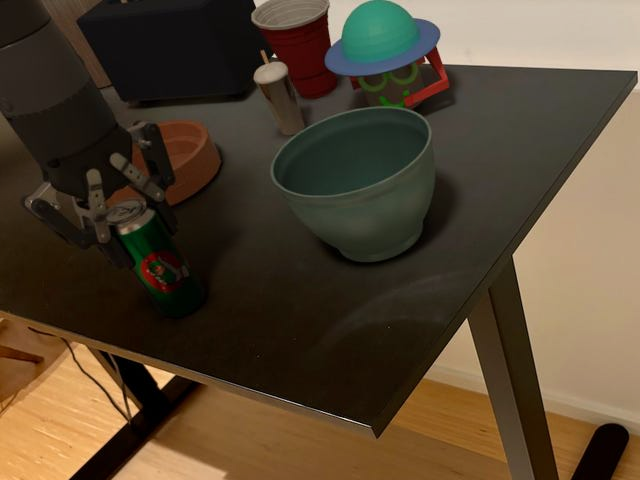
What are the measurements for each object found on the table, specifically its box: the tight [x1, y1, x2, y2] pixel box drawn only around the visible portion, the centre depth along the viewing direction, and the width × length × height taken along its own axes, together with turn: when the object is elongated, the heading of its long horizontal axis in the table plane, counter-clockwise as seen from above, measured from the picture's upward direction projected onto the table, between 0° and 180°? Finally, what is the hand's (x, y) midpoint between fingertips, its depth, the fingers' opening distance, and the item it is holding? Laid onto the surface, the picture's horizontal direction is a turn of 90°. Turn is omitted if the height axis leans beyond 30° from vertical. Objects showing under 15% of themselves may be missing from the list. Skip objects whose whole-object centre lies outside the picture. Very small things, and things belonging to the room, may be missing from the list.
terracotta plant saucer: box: [105, 119, 222, 209], centre depth 94 cm, size 16×16×4 cm
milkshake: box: [253, 50, 306, 137], centre depth 96 cm, size 4×5×10 cm
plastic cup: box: [251, 0, 338, 100], centre depth 102 cm, size 11×11×12 cm
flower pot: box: [269, 106, 436, 263], centre depth 74 cm, size 16×16×11 cm
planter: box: [42, 0, 113, 89], centre depth 118 cm, size 10×10×23 cm
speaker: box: [76, 0, 275, 106], centre depth 110 cm, size 22×13×15 cm, turn 77°
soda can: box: [107, 198, 206, 318], centre depth 72 cm, size 5×5×12 cm
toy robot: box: [325, 0, 451, 111], centre depth 92 cm, size 15×15×14 cm
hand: (148, 249), depth 71 cm, fingers closed on soda can, 5 cm apart
